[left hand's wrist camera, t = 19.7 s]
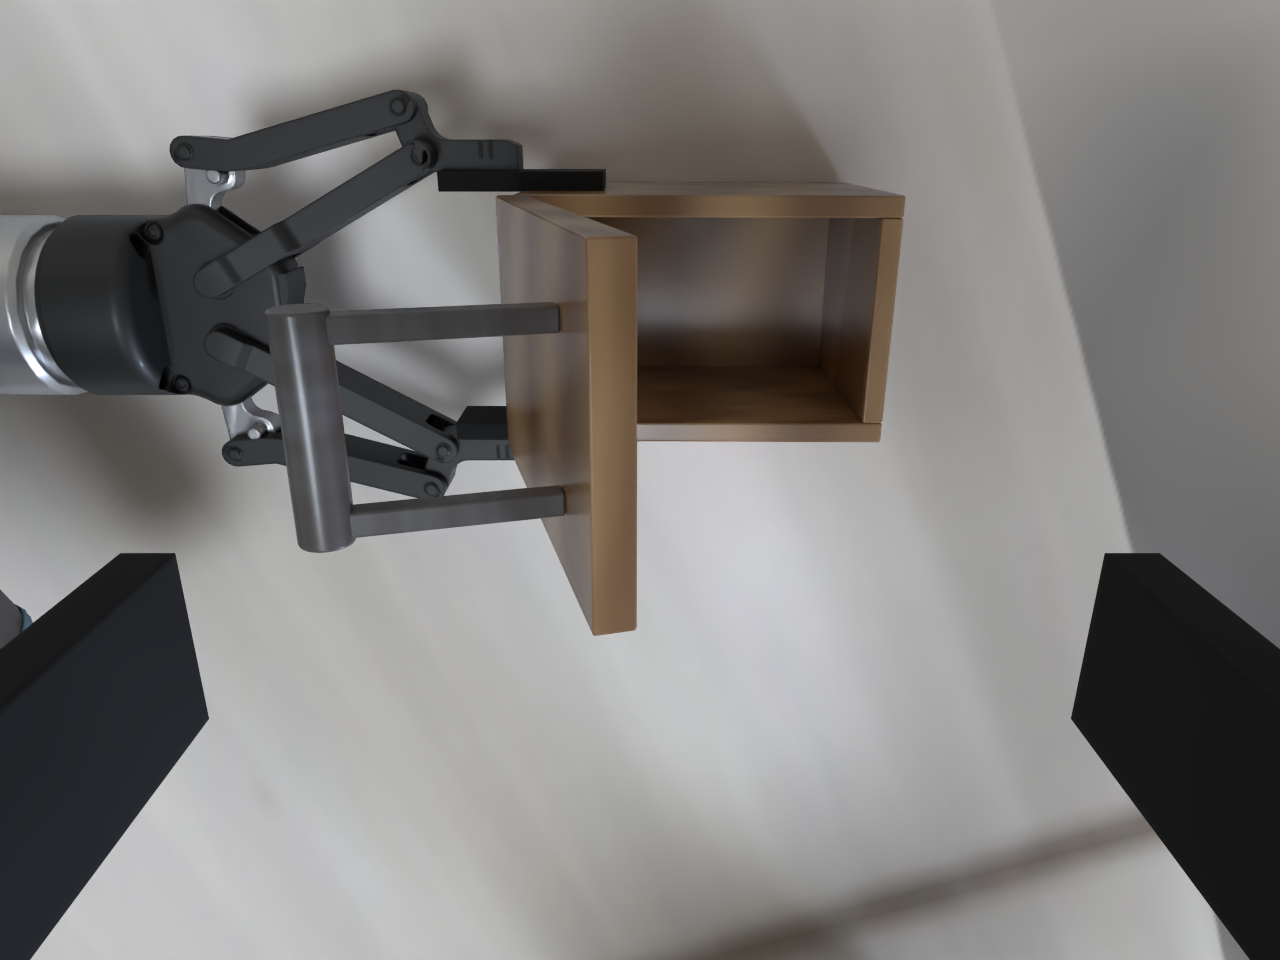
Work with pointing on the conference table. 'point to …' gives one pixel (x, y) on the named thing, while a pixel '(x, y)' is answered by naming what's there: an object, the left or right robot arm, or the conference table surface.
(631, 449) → the lid
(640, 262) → the chest
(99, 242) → the right robot arm
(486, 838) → the conference table surface
